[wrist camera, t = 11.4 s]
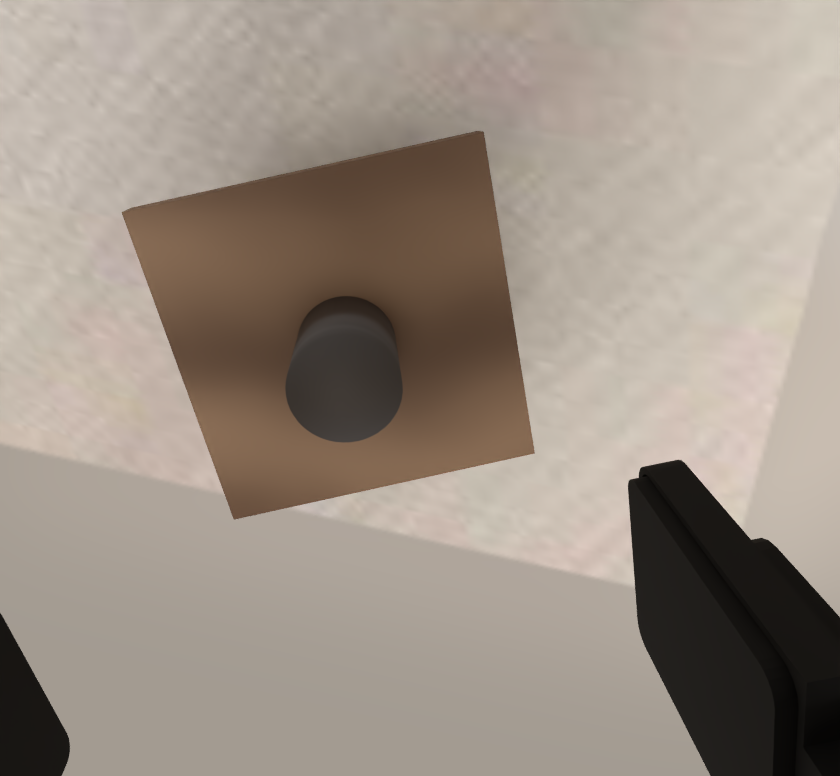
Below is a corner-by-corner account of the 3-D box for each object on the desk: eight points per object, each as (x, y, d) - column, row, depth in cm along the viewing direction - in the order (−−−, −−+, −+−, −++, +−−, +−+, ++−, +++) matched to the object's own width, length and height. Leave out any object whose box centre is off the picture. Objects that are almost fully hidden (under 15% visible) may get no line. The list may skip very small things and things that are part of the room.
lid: (132, 207, 22) (69, 235, 17) (478, 130, 22) (509, 138, 17) (238, 504, 26) (212, 591, 21) (528, 440, 26) (565, 514, 21)
